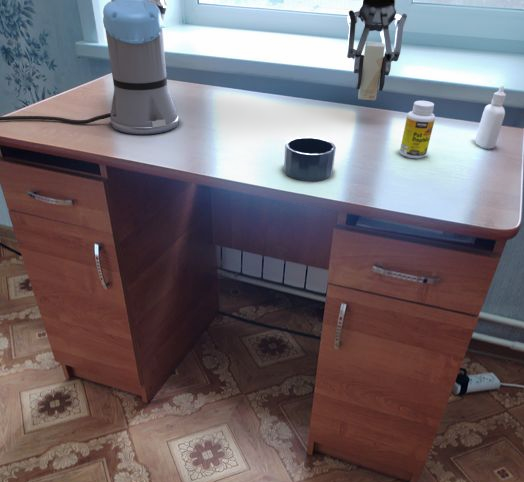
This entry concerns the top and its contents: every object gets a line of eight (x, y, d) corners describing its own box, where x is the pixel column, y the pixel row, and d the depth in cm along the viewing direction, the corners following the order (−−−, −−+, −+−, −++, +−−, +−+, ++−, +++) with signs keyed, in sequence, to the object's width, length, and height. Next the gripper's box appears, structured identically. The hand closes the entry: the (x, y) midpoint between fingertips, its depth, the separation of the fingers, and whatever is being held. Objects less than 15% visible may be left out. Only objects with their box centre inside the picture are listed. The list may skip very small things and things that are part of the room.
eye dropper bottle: (494, 142, 114) (513, 84, 107) (493, 150, 111) (513, 91, 103) (474, 139, 116) (492, 82, 108) (472, 147, 112) (490, 88, 104)
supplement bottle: (406, 160, 105) (417, 107, 98) (395, 150, 109) (405, 99, 102) (430, 158, 106) (443, 106, 99) (418, 149, 110) (430, 98, 103)
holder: (278, 177, 96) (280, 150, 93) (290, 159, 103) (292, 134, 100) (327, 184, 94) (330, 157, 91) (336, 166, 101) (339, 140, 98)
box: (375, 101, 118) (385, 46, 111) (357, 99, 118) (365, 45, 111) (376, 95, 122) (385, 42, 115) (358, 93, 122) (366, 40, 115)
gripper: (413, 4, 120) (405, 98, 118) (340, 0, 121) (330, 93, 119) (422, -21, 112) (412, 79, 111) (343, -26, 113) (333, 73, 112)
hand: (370, 86), depth 115 cm, fingers closed on box, 4 cm apart
